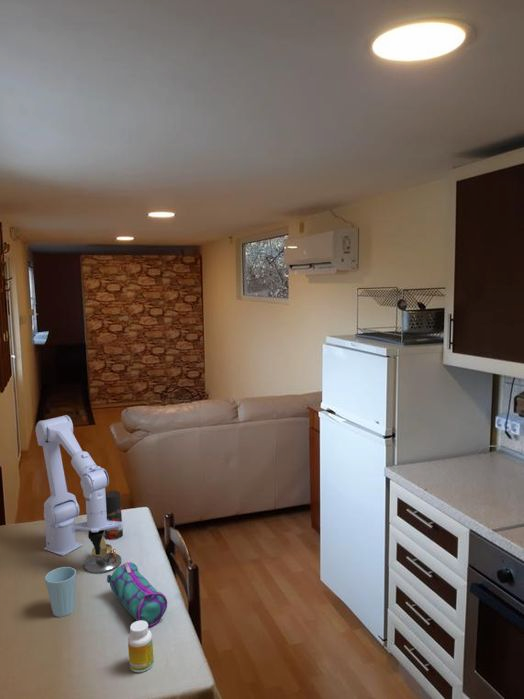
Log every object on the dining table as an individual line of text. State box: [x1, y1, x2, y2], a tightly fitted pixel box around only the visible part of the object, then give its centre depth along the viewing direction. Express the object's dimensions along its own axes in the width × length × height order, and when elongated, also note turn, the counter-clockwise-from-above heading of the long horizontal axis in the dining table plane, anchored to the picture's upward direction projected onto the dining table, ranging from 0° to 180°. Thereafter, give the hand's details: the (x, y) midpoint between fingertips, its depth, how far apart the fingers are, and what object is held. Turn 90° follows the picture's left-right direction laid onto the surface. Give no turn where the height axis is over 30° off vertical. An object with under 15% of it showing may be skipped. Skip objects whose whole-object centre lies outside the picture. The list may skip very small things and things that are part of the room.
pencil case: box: [106, 561, 168, 628], centre depth 146 cm, size 21×9×10 cm, turn 36°
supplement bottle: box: [127, 620, 154, 673], centre depth 125 cm, size 5×5×10 cm
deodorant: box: [104, 490, 124, 541], centre depth 187 cm, size 6×6×15 cm
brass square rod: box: [91, 535, 113, 558], centre depth 169 cm, size 6×10×4 cm, turn 22°
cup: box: [44, 566, 77, 618], centre depth 146 cm, size 8×8×10 cm
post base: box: [83, 548, 122, 575], centre depth 170 cm, size 11×11×5 cm
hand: (98, 553), depth 165 cm, fingers closed, pressing on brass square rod
